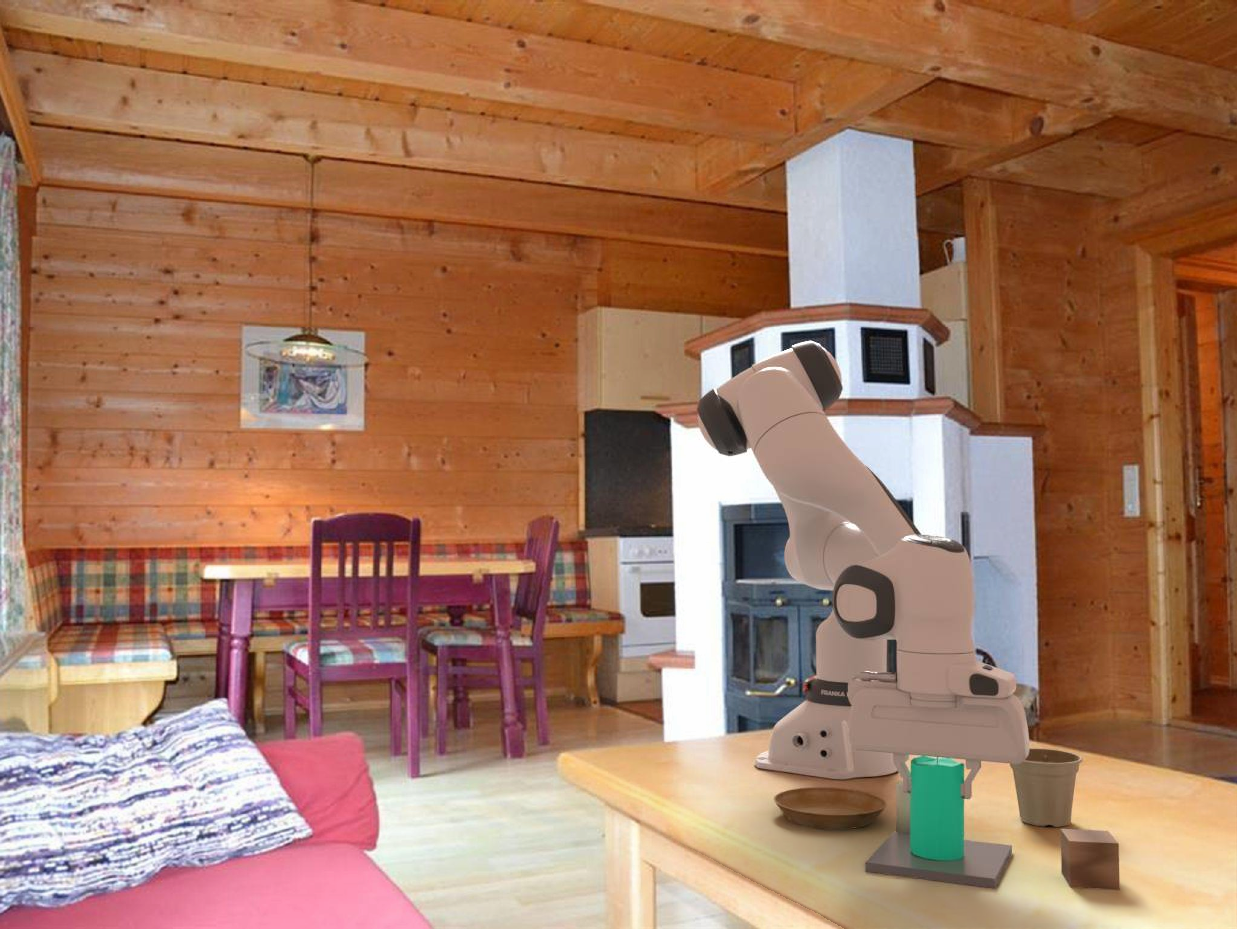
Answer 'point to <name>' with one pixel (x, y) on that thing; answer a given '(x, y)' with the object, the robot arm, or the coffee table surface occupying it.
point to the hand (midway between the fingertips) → (937, 795)
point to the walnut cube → (1090, 859)
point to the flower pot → (1046, 786)
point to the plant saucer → (830, 807)
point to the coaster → (942, 862)
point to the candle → (936, 808)
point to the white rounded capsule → (902, 809)
